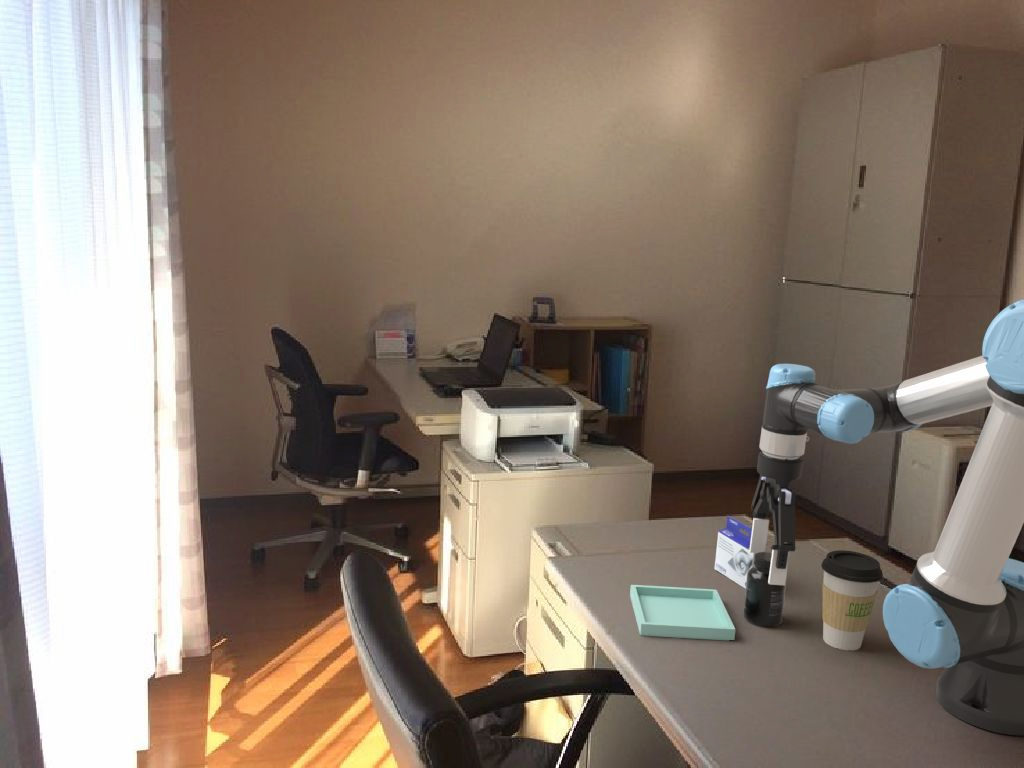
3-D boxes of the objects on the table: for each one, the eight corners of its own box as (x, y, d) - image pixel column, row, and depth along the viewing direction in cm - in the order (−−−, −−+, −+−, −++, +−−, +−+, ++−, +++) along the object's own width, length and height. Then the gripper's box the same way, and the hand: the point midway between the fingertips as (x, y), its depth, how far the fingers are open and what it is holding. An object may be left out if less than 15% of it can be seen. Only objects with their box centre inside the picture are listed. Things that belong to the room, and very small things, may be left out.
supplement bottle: (777, 612, 167) (785, 551, 164) (785, 629, 160) (793, 565, 158) (739, 609, 167) (746, 547, 165) (745, 626, 161) (752, 562, 158)
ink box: (712, 569, 185) (718, 516, 183) (722, 568, 186) (727, 514, 184) (749, 593, 175) (755, 536, 172) (759, 591, 176) (765, 534, 173)
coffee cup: (877, 659, 151) (889, 575, 148) (815, 650, 153) (826, 567, 150) (867, 632, 161) (878, 553, 158) (809, 625, 162) (819, 545, 159)
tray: (734, 640, 155) (735, 629, 155) (640, 635, 155) (641, 623, 155) (715, 600, 171) (716, 589, 170) (629, 595, 171) (630, 584, 170)
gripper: (826, 477, 145) (808, 600, 150) (783, 435, 170) (769, 541, 174) (779, 474, 145) (762, 597, 150) (743, 432, 170) (730, 539, 174)
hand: (766, 567), depth 162 cm, fingers open, 13 cm apart
